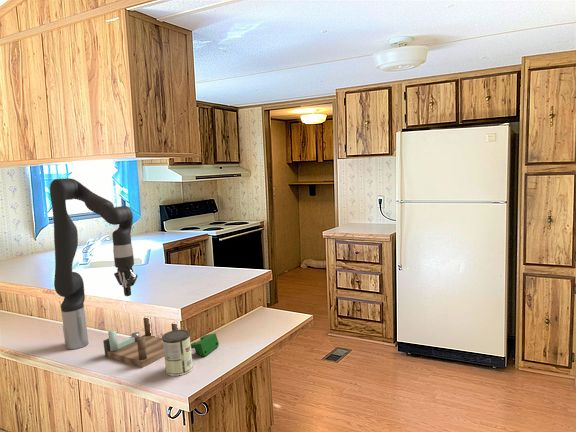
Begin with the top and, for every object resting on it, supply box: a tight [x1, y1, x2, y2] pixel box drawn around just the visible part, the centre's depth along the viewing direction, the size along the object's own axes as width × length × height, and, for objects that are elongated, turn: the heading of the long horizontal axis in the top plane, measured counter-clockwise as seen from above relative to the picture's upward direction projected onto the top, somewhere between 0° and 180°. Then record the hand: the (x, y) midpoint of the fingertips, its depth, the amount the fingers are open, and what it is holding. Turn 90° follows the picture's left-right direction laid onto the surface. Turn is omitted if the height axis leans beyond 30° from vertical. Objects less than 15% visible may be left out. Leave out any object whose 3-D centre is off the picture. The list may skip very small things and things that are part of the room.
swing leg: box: [107, 329, 141, 351], centre depth 191 cm, size 14×3×8 cm, turn 147°
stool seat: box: [102, 317, 178, 368], centre depth 190 cm, size 24×22×10 cm
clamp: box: [191, 332, 220, 357], centre depth 186 cm, size 12×6×9 cm, turn 150°
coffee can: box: [161, 329, 194, 377], centre depth 170 cm, size 10×10×14 cm
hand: (127, 295), depth 186 cm, fingers closed
